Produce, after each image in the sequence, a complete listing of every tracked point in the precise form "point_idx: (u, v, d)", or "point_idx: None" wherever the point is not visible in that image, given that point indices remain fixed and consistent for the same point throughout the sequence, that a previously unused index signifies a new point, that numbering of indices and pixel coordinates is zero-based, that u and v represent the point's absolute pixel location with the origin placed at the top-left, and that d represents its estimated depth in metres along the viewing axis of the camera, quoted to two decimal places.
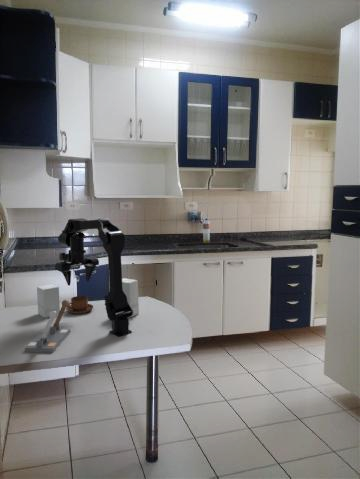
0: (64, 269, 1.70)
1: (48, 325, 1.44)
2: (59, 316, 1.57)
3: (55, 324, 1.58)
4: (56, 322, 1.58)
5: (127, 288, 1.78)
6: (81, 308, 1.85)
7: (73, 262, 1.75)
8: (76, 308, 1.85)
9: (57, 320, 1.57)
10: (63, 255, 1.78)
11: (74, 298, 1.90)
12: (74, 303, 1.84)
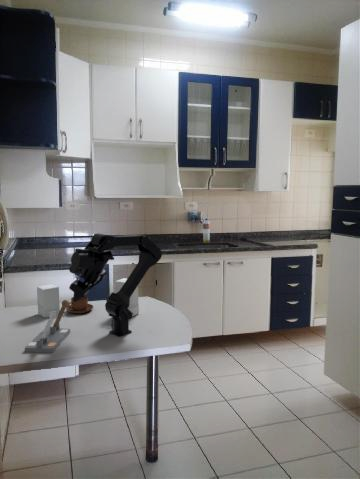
0: (84, 295, 1.49)
1: (48, 325, 1.44)
2: (59, 316, 1.57)
3: (55, 324, 1.58)
4: (56, 322, 1.58)
5: None
6: (81, 308, 1.85)
7: (89, 281, 1.53)
8: (76, 308, 1.85)
9: (57, 320, 1.57)
10: (77, 269, 1.52)
11: None
12: (74, 303, 1.85)
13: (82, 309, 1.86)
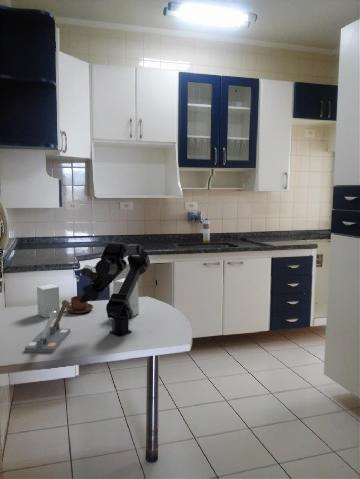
0: (95, 299, 1.48)
1: (48, 325, 1.44)
2: (59, 316, 1.57)
3: (55, 324, 1.58)
4: (56, 322, 1.58)
5: None
6: (81, 308, 1.85)
7: (98, 287, 1.53)
8: (76, 308, 1.85)
9: (57, 320, 1.57)
10: (91, 272, 1.51)
11: (74, 298, 1.90)
12: (74, 303, 1.85)
13: (82, 309, 1.86)
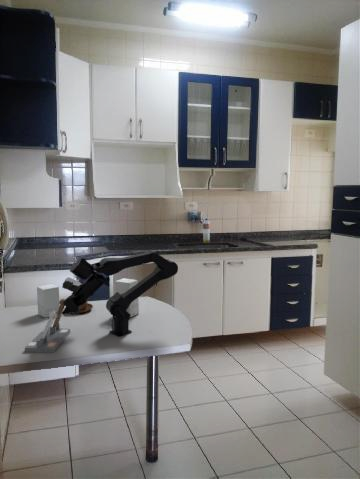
0: (76, 312, 1.49)
1: (48, 325, 1.44)
2: (58, 315, 1.57)
3: (55, 324, 1.58)
4: (55, 322, 1.58)
5: (127, 288, 1.78)
6: (81, 307, 1.86)
7: (80, 300, 1.54)
8: None
9: (56, 320, 1.57)
10: (72, 285, 1.52)
11: None
12: None
13: (82, 309, 1.86)
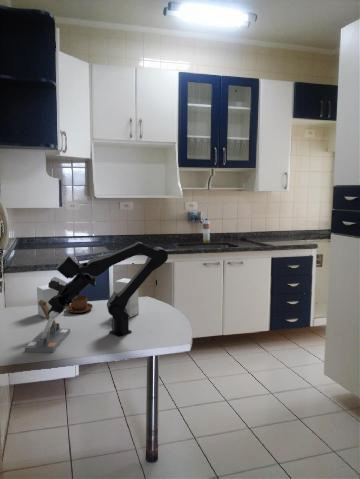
0: None
1: (48, 325, 1.44)
2: (47, 315, 1.57)
3: None
4: None
5: None
6: (81, 307, 1.86)
7: (66, 300, 1.55)
8: (76, 307, 1.85)
9: None
10: (58, 285, 1.53)
11: None
12: (74, 302, 1.85)
13: (82, 308, 1.86)
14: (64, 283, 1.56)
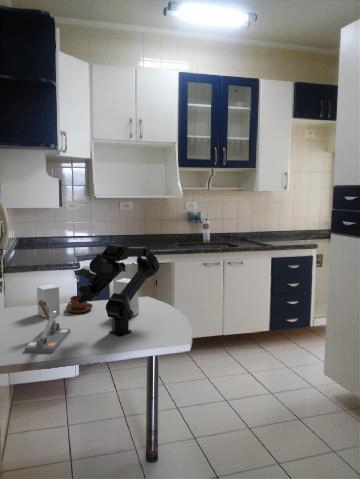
0: (91, 299, 1.48)
1: (48, 325, 1.44)
2: (47, 315, 1.57)
3: None
4: None
5: None
6: (81, 307, 1.86)
7: (96, 288, 1.54)
8: (76, 307, 1.86)
9: None
10: (88, 273, 1.52)
11: (73, 297, 1.91)
12: (74, 302, 1.86)
13: (82, 308, 1.87)
14: None
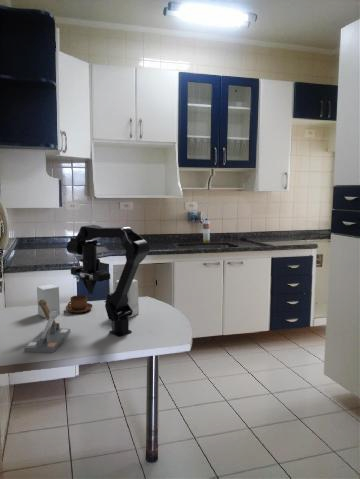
0: (71, 272, 1.71)
1: (48, 325, 1.44)
2: (47, 315, 1.57)
3: None
4: None
5: None
6: (81, 307, 1.86)
7: None
8: (76, 307, 1.86)
9: None
10: None
11: (73, 297, 1.91)
12: (74, 302, 1.86)
13: (82, 308, 1.87)
14: None
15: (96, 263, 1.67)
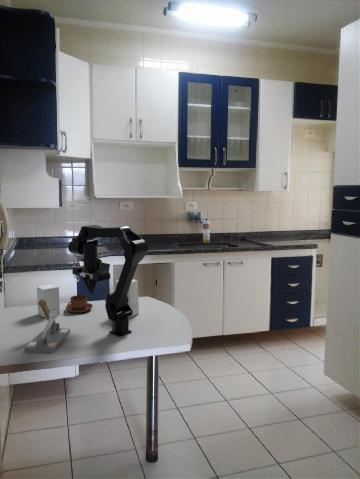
0: (72, 272, 1.72)
1: (48, 325, 1.44)
2: (47, 315, 1.57)
3: None
4: None
5: None
6: (81, 307, 1.86)
7: None
8: (76, 307, 1.86)
9: None
10: None
11: (73, 297, 1.91)
12: (74, 302, 1.86)
13: (82, 308, 1.87)
14: None
15: (97, 263, 1.67)
